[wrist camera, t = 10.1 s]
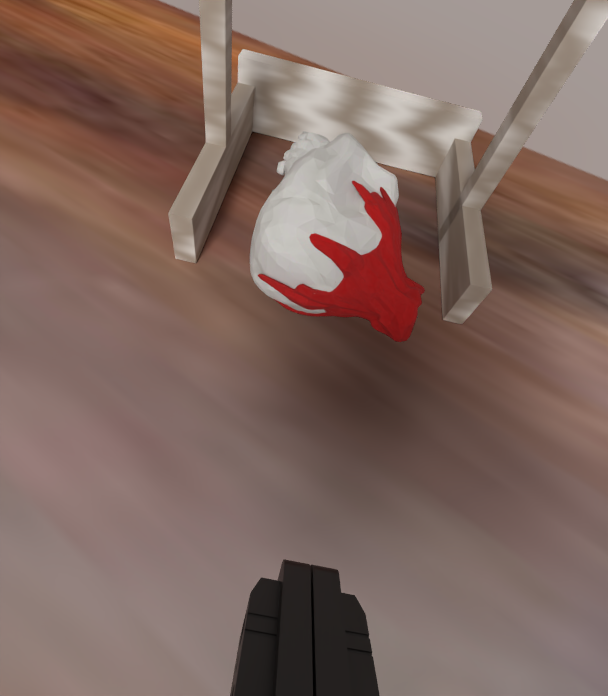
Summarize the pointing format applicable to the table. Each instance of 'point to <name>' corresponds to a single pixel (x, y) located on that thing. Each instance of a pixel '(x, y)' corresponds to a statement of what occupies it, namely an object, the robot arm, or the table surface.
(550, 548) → the table surface
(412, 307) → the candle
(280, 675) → the robot arm
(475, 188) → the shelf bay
